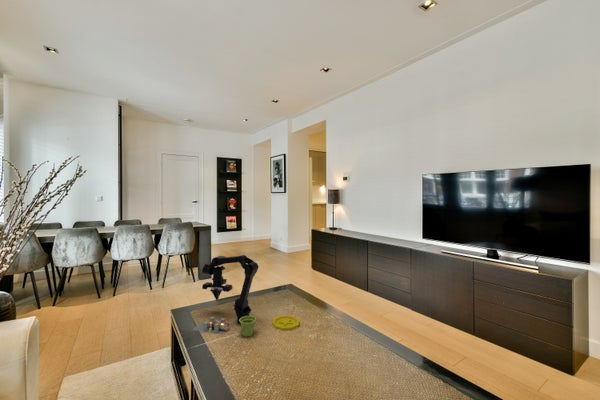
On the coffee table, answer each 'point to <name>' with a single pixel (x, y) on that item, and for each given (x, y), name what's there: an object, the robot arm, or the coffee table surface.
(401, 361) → the coffee table surface
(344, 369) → the coffee table surface
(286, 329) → the decorative disc
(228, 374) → the coffee table surface
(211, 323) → the copper tube
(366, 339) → the coffee table surface
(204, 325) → the board
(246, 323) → the plant pot
